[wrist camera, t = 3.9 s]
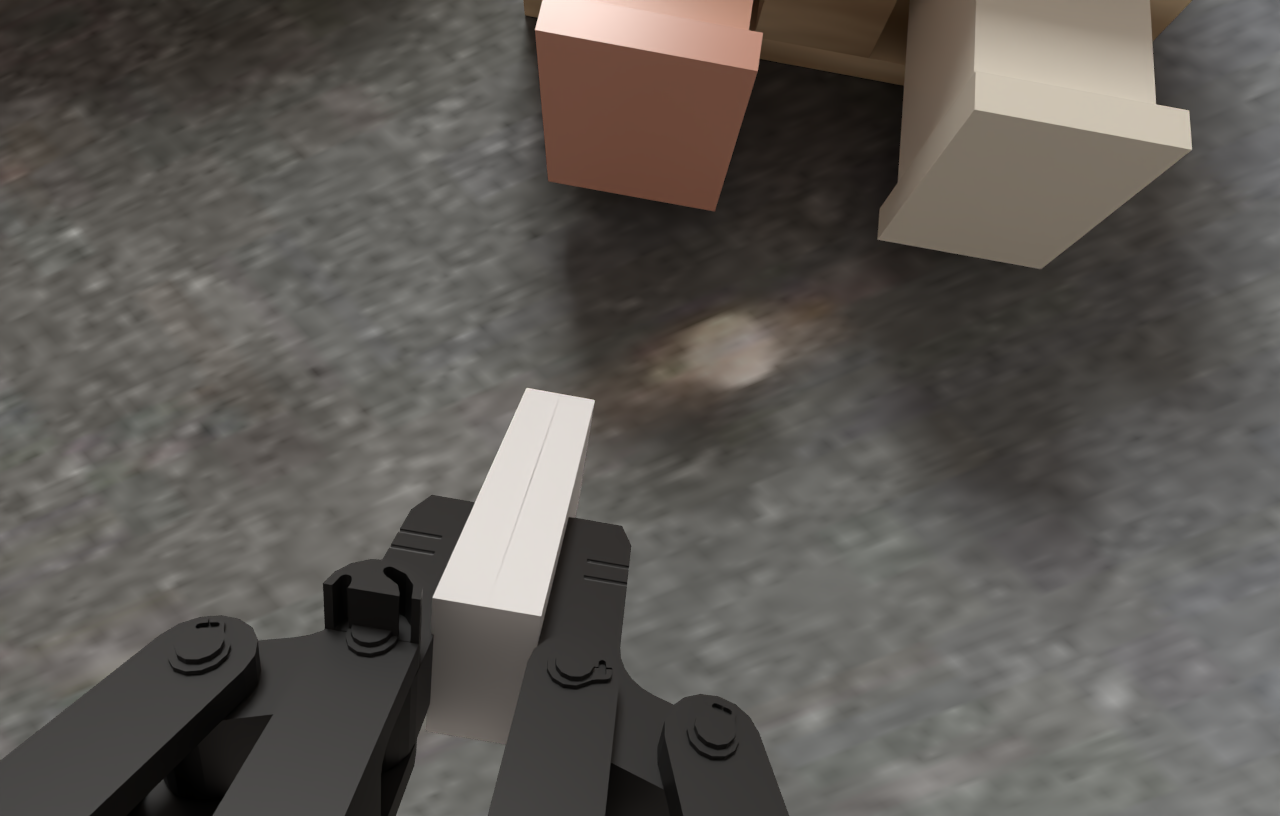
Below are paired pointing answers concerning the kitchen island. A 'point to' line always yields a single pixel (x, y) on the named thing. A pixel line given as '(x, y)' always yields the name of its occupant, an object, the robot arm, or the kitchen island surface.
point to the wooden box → (853, 33)
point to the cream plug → (1025, 125)
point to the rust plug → (645, 94)
